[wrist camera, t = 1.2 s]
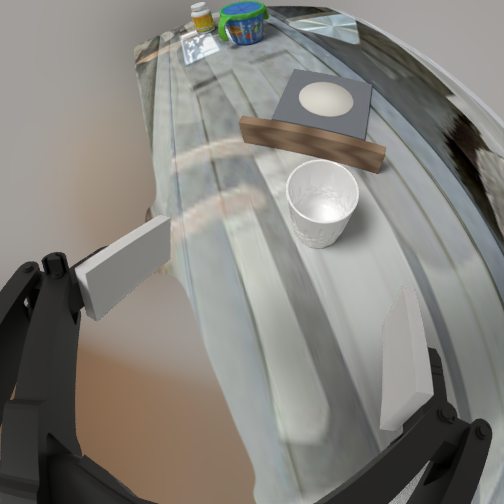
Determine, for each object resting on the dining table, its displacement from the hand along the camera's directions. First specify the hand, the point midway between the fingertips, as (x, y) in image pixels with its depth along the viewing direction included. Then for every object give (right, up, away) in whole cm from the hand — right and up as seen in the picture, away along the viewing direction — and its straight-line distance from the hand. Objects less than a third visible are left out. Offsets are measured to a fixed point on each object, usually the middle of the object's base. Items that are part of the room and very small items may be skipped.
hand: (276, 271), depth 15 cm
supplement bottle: (-14, +64, +46) cm, 80 cm away
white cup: (+8, +5, +24) cm, 25 cm away
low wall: (+8, +17, +27) cm, 33 cm away
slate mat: (+12, +29, +31) cm, 44 cm away
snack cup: (-2, +54, +41) cm, 68 cm away
